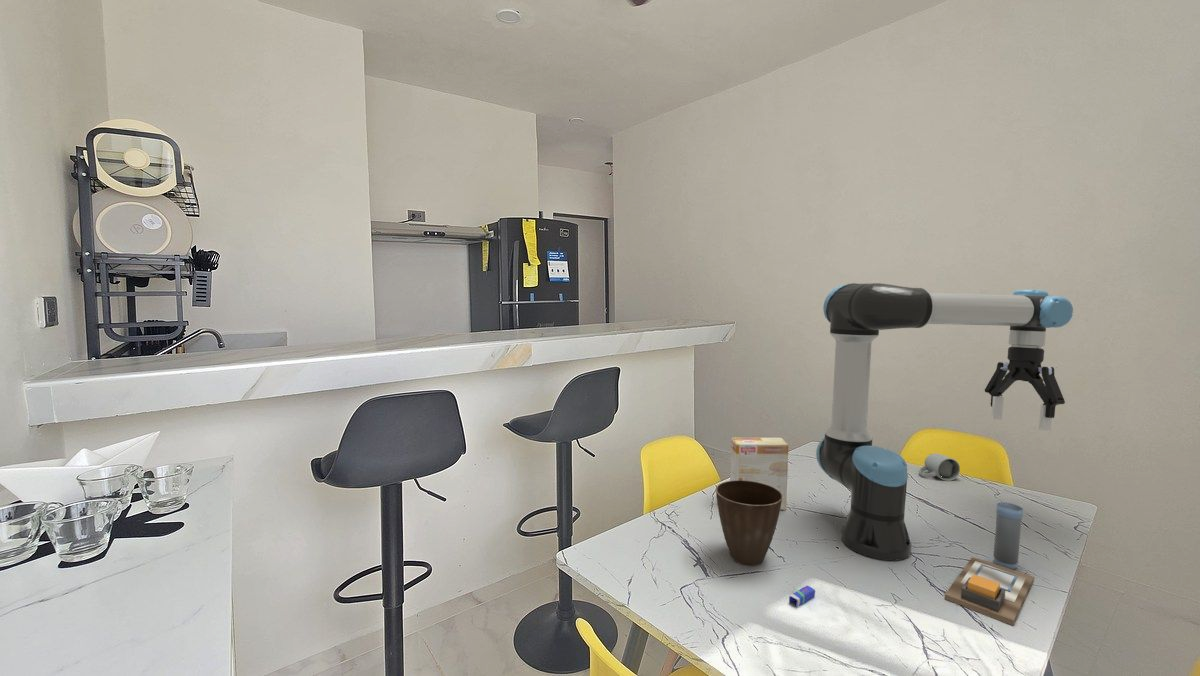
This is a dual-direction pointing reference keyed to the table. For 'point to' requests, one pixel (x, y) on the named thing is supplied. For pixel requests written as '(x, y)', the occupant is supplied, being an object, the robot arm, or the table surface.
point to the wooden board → (1010, 592)
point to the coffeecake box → (761, 462)
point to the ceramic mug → (940, 467)
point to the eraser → (802, 595)
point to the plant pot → (748, 518)
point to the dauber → (1007, 535)
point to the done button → (984, 586)
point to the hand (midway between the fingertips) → (1019, 424)
